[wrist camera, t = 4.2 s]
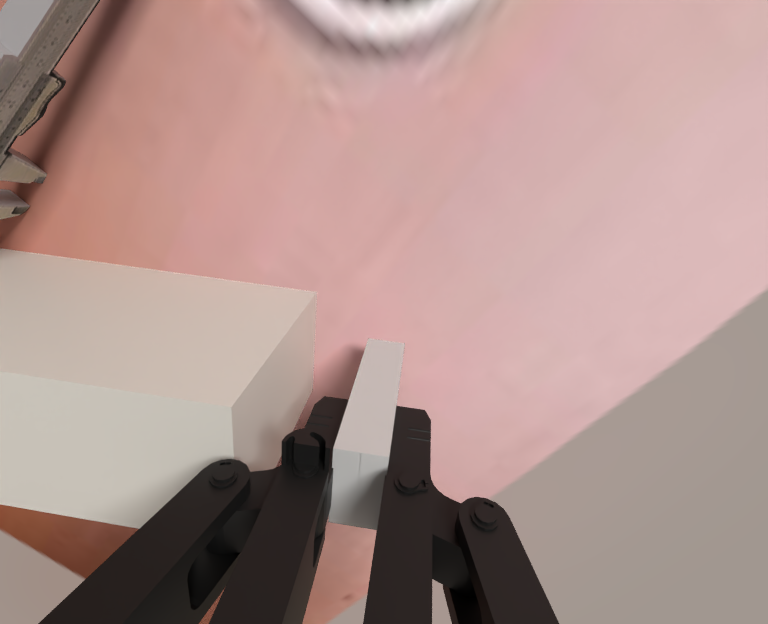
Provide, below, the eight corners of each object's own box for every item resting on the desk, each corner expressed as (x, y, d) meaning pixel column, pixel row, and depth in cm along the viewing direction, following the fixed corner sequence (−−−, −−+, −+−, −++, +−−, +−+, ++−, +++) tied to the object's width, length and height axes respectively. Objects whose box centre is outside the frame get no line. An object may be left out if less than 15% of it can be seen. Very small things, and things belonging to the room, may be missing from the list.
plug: (-66, 238, 19) (-405, 308, 11) (317, 291, 18) (231, 407, 10) (-35, 335, 21) (-305, 450, 13) (313, 387, 20) (238, 545, 12)
